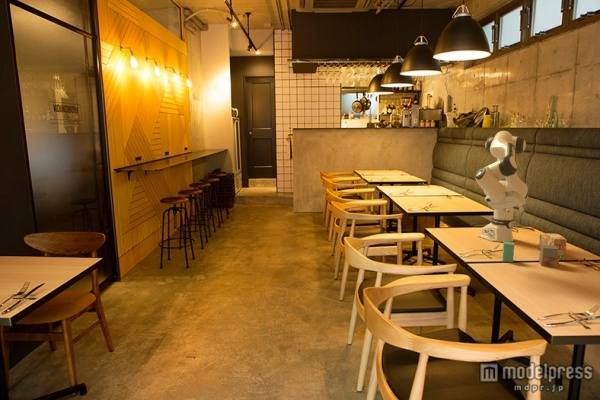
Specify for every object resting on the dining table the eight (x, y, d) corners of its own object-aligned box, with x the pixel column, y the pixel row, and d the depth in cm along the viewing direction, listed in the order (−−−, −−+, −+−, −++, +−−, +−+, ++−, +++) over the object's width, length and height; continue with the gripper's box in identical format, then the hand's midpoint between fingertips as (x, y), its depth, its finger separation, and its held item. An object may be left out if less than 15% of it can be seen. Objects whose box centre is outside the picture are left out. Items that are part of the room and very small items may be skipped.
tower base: (541, 266, 223) (541, 257, 223) (538, 261, 231) (539, 253, 230) (558, 267, 220) (559, 258, 220) (555, 263, 228) (556, 254, 227)
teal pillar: (502, 261, 231) (504, 243, 230) (502, 258, 236) (503, 241, 234) (513, 262, 229) (514, 244, 228) (512, 259, 234) (513, 242, 232)
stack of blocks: (538, 249, 254) (540, 229, 252) (549, 249, 253) (551, 229, 251) (552, 259, 234) (554, 238, 232) (564, 260, 232) (566, 238, 230)
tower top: (542, 256, 223) (543, 247, 222) (540, 253, 229) (541, 244, 229) (557, 258, 221) (558, 249, 220) (554, 254, 227) (555, 245, 226)
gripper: (517, 186, 213) (534, 204, 215) (487, 192, 232) (503, 209, 234) (512, 194, 211) (529, 213, 213) (482, 200, 230) (498, 217, 232)
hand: (515, 211), depth 224 cm, fingers open, 8 cm apart
